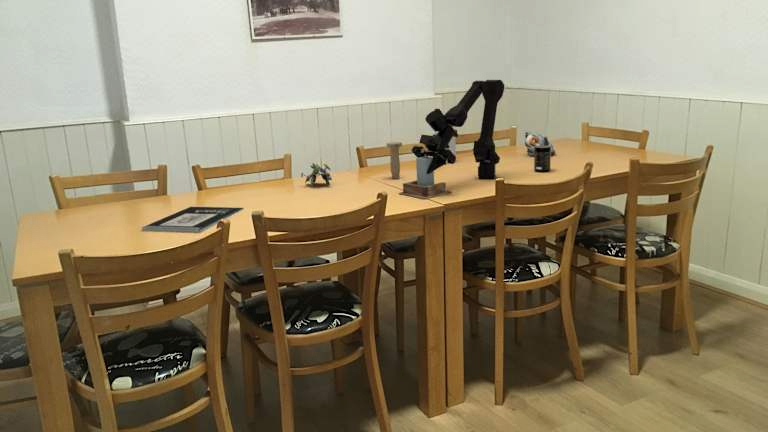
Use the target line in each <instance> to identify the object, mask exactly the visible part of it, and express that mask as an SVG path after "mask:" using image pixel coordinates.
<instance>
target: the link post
mask: <svg viewBox="0 0 768 432" xmlns="http://www.w3.org/2000/svg"><path fill="white" fill-rule="evenodd" d="M432 160H433V157H430V156H428V157H420V158H417V157H416V162H415V163H416V180H417V185H421V186H429V185H433V184H435V172H434V171H435V170H434V171H433V172H431V173H430V174H427V173H426V172H427V170H428V168H429V166H430V164H431V162H432Z"/></svg>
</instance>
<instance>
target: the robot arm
mask: <svg viewBox="0 0 768 432" xmlns="http://www.w3.org/2000/svg"><path fill="white" fill-rule="evenodd" d="M504 91H505V83H504V82H503V80H501V79H486V80H474V81H473V82H472V83H471V86H470V87H469V88H468V90H467V91H466V93H465V94H464V95H463V96H462V98H461V99H460V100H459V102H458V103H457V104H456V105H454V106H453V107H451V108H449V109H448V111H446V113H443V112H442V111H441V108H435V109H434V110H433V111H431V112H429V113H428V114H427V115H426V116H425V122H426V123H427V124H428V125H429V127H430V128H431V129H432V130H433V131H434V132H438V133H437V135H436V134H435V133H433V134H432V135H431V134H430V135H429V134H421V136H420V139H419V144H423V145H424V146H422V145H421V146H420V145H413V147H412V148H411V150H410V151H411V152H412V154H414V155H415V157H416V158H420V157H432V158H433V160H432V162H431V164H430V166H429V168H428V170H427V172H426V173H427V174H430V173H431V172H433V171H436V170H438V169H439V168H441V167H443V166H446V165H447V164H449V165H454V164H455V163H456V162H457V155H456V156H455V155H454V154H453V153H452V152H451V150H449V147H450V146H449V145H448V144H449V142H450V141H451V139H452V137H455V138H458V137H459V134H458V130H457V129H455V128H454V127H456V128H462V127H463V126H464V125H465V123H466V121H467V119H468V113H469V111H470V110H471V108H472V107H473V106H474V104H475V103H476V102H477V100H478V99H480V97H481V95H482V97H483V100H484V106H483V115H482V120H481V121H482V122H481V128H480V135H479V138H478V139H477V140H474V142H473V148H472V153H473V156H474V160H475V163H479V164H478V166H477V177H478V179H480V180H483V179H484V180H488V179H489V180H490V179H491V180H494V179H496V178H497V174H496V171H497V170H496V165H497V164H500V159H501V157H500V156H499V155H498V153H497V152H496V144H495V141H494V140H493V136H494V131H495V122H496V117H497V111H498V109H497V108H498V104H499V101H500V100H501V99H502V98H503V95H504ZM424 147H425V148H424ZM446 148H447V149H446ZM426 149H427V150H426ZM446 161H447V162H448V163H446ZM455 161H456V162H455Z"/></svg>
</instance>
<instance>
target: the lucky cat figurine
mask: <svg viewBox="0 0 768 432" xmlns="http://www.w3.org/2000/svg"><path fill="white" fill-rule="evenodd" d="M524 136H525V137H524V138H525V139H524V146H525V147H526V148H527V149H526V152H527V153H526V154H528V156H529V157H533V156H534V147H535V146H540V145H546V146H551V157H553V156H554V155H556V154H557V152H556V150H555V149H554V146H553V144H552V143H551V141H550V140H548V137H547V136H546V135H545V136H543V135H542V134H540V133H539V132H530V131H525V135H524Z"/></svg>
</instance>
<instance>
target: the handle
mask: <svg viewBox="0 0 768 432" xmlns="http://www.w3.org/2000/svg"><path fill="white" fill-rule="evenodd" d="M386 147H387V148H389V149H390V173H391V179H393V180H398V179H400V176H401V175H400V173H401V163H400V162H401V161H400V151H399V150H400V148H401V147H403V142H402V141H393V142H387V143H386Z"/></svg>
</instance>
